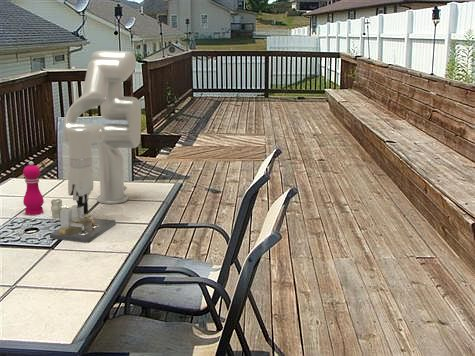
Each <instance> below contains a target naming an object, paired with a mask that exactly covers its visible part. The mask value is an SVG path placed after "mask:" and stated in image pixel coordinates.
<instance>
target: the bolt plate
mask: <svg viewBox="0 0 475 356" xmlns="http://www.w3.org/2000/svg"><path fill="white" fill-rule="evenodd" d="M84 217H90V218H93V220H94V226H92V221H86V220H83V221H81V222H75V221H72V210H70V209H63V210H61V211H60V218H59V219H60V227H59V228H58V229H56V230H55V231H53V232H51V233H50V234H49V238H50V239H52V238H54V239H53V240H62V241H69V242H70V241H71V242H79V243H88V244H89V243H90V242H92V241H93V240H94V239H96V238H98V237H99V236H101V235H102V234H104V233H105V232H107V231H108V230H109V229H111V228H112V227H114V226H115V225H116V220H115V219H107V218H105V219H104V218H98V217H97V218H96V217H92V214H88V213H86V214H85V215H84Z"/></svg>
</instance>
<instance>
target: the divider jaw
mask: <svg viewBox="0 0 475 356" xmlns="http://www.w3.org/2000/svg"><path fill="white" fill-rule="evenodd" d="M70 206H71V207H70ZM70 206H69V207H70V210H72V221H75V222H81V221H83V220H86V221H92V226H94V220H93V218H94V217H91V218H90V217H84V206H81V205H77V204H73V205H70Z"/></svg>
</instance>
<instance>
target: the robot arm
mask: <svg viewBox="0 0 475 356" xmlns="http://www.w3.org/2000/svg"><path fill="white" fill-rule="evenodd" d="M90 55H91V56H90V61H89V62H88V64H87V69H86V73H85V78H84V85H83V88H82V89H83V90H82V94H81V96H79V98H77V99H76V100H75V101H74V102H73V103H72V104H71V105H70V107H69V108H68V110H67V111H66V114H65V117H64V121H63V126H62V128H63V129H62V137H63V139H64V140H63V141H65V142H66V143H68V156H69V157H68V159H69V161H68V162H69V168H68V169H69V170H68V176H67V177H68V178H67V180H68V181H67V182H68V183H67V184H68V186H67V191H68V192H67V193H68V196H72V201H75V202H76V203H77V204H76V205H81V206H84V214H85V215H86V214H88V213H89V204H88V202H89V196H90V195H91V193H92V191H93V190H94V175H93V158H92V156H93V155H92V154H93V153H92V151H93V150H92V146H96V145H97V148H98V162H99V165H98V166H99V191H100V193H99V194H100V195H98V196H97V197H96V201H97V202H98V203H100V204H105V205H116V204H122V203H126V202H127V201H128V200H129V196H128V195H127V194H125V192H126V190H127V189H128V187H127V186H126V185H125V180H124V179H125V177H124V176H125V175H124V174H125V173H124V170H125V169H124V156H123V154H122V152H121V151H120V150H119V149H121V148H122V149H136V148H138V147H139V145H140V142H141V131H142V130H141V129H142V128H141V127H142V106H141V102H140V100H139V99H138V98H137V97H134V96H124V91H123V82H125V81H127V80H128V79H129V78H130V77H131V75H132V74H133V73H134V71H135V69H136V65H137V60H136V59H137V58H136V55H135V54H134V53H133V52H131V51H128V50H127V51H126V50H97V51H94V52H92V54H90ZM99 106H100V115H101V117H102V118H103V119H104V120H110V121H125V122H127V123H109V122H108V123H102V124H99V123H93V122H92V123H91V122H77V120H78V118H79V117H80V116H81V115H82V114H83V113H85V112H86V111H89V110H92V109H94V108H96V107H99Z"/></svg>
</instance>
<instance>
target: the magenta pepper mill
mask: <svg viewBox="0 0 475 356" xmlns="http://www.w3.org/2000/svg"><path fill="white" fill-rule="evenodd" d="M34 164H35V163H34V162H33V161H32V160H31V161H28V165H26V166H24V168H23V171H22V173H23V176H24V177H25V178H24V180H25V183H26V190H25V193H24V196H23V205H24V206H25V208H24V211H25V214H26V215H28V216H38V215H42V214H43V213H44V208H43V204H44V203H45V201H44V197H43V194H42V192H41V190H40V188H39V182H40V177H39V176H40V175H41V170H40V167H38V165H34Z"/></svg>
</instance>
